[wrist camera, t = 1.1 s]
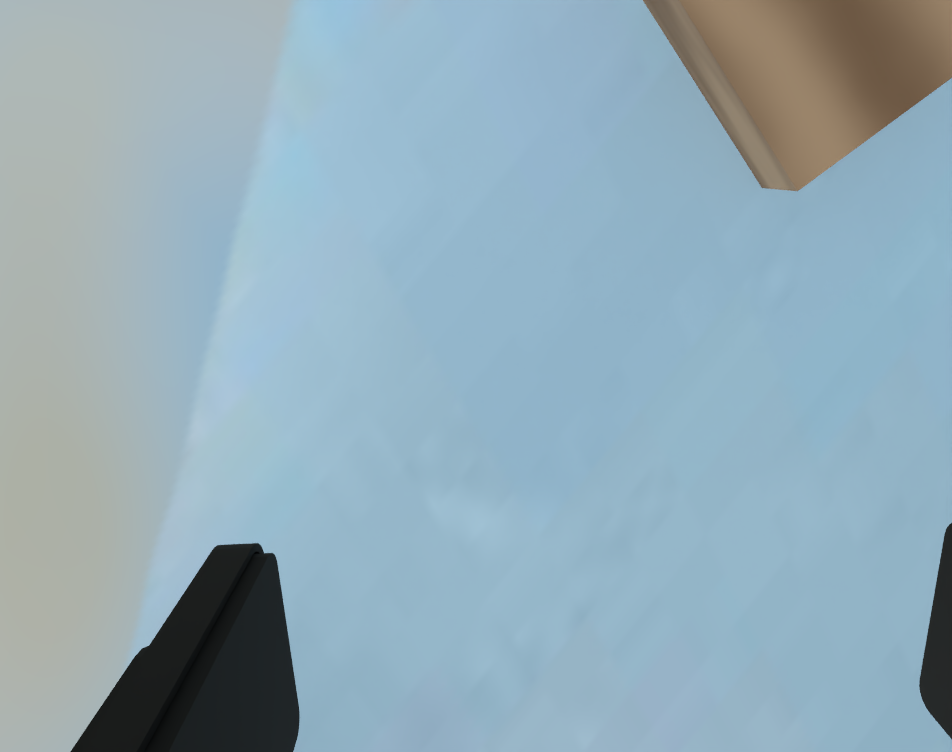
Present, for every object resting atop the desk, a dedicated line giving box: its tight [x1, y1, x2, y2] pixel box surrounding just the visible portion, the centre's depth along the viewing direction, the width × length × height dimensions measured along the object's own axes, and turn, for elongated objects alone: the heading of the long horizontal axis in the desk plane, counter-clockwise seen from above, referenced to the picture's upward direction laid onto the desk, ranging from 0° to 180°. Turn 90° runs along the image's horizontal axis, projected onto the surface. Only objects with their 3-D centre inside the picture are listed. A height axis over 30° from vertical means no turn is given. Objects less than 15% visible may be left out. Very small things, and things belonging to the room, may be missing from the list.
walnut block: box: [643, 0, 952, 191], centre depth 29 cm, size 10×10×4 cm
